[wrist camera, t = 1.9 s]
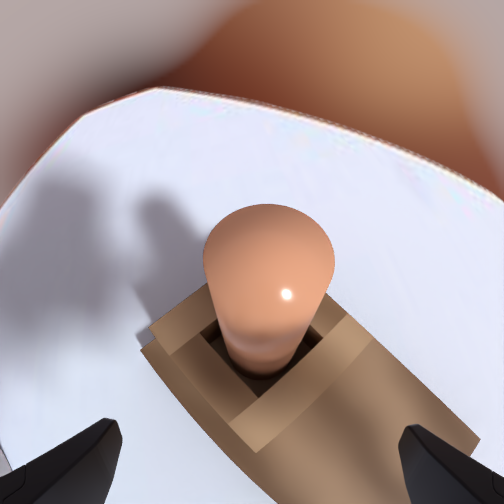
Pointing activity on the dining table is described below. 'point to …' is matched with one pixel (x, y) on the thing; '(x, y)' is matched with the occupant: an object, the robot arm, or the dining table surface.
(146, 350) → the wooden socket base
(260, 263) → the plug
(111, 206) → the dining table surface
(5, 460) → the utensil holder
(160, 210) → the dining table surface
